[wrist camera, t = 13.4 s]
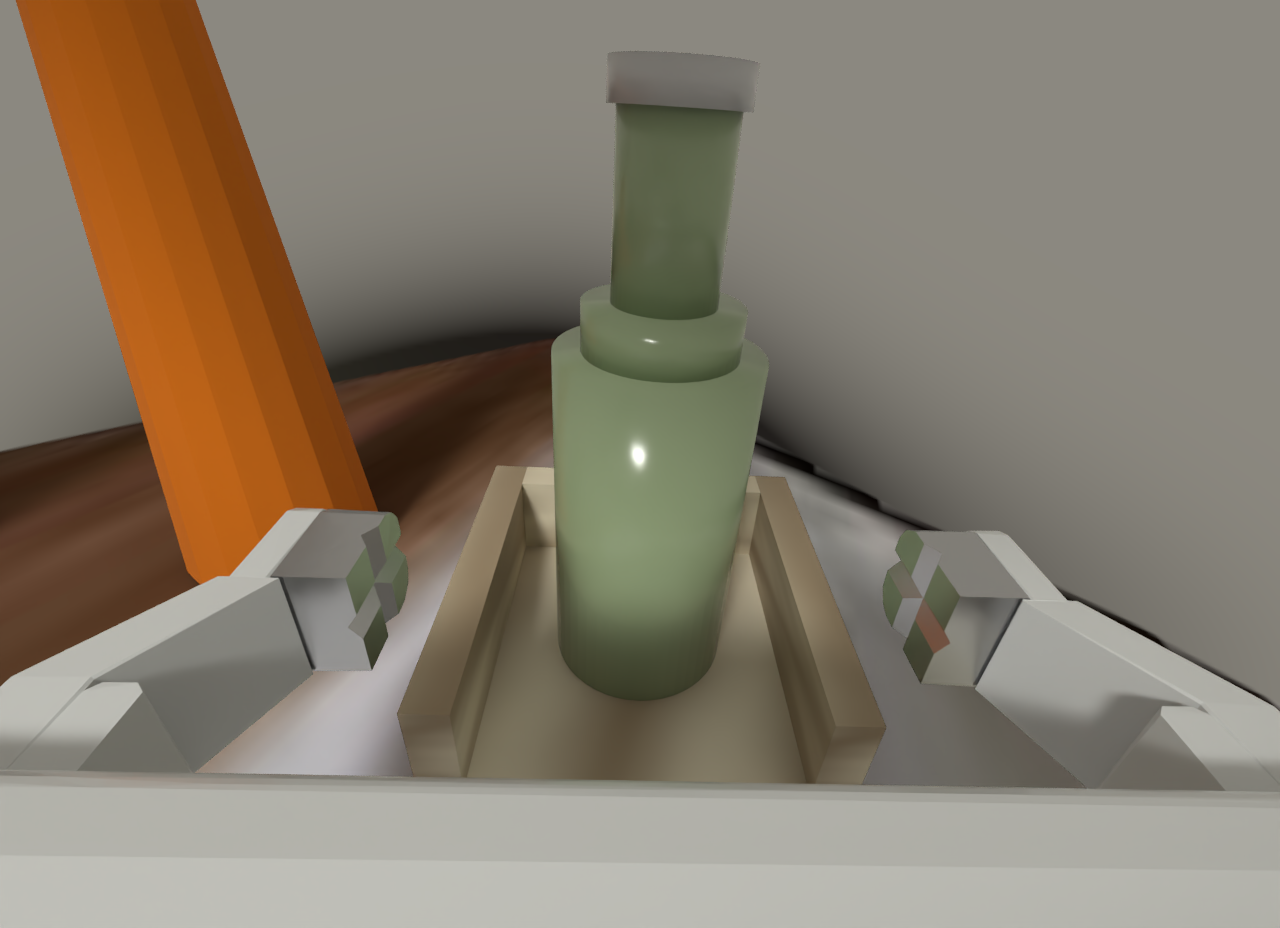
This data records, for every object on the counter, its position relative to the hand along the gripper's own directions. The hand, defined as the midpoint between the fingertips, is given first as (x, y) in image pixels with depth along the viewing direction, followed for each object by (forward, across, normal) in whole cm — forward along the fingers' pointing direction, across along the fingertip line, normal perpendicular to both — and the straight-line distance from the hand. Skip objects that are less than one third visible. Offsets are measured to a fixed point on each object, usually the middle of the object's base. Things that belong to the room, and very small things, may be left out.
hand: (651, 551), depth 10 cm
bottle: (+6, 0, +9) cm, 11 cm away
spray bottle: (+14, +15, +10) cm, 23 cm away
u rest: (+7, 0, +10) cm, 12 cm away
